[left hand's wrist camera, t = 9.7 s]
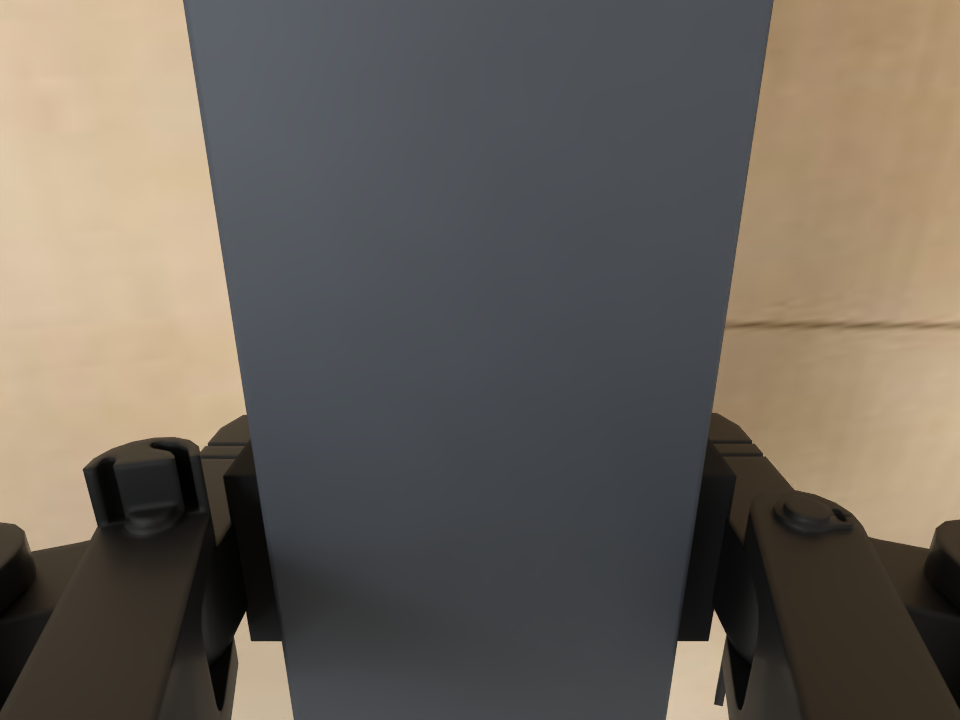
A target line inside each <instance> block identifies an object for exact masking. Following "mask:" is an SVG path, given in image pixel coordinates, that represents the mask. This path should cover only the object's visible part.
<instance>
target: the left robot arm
mask: <svg viewBox="0 0 960 720" xmlns="http://www.w3.org/2000/svg"><path fill="white" fill-rule="evenodd" d="M83 472H84V476H85V480H86V483H87V487H88V491H89V495H90V499H91V502H92V506H93V510H94V514H95V517H96V521H97V525H98V527H97V529H96V531H95V533H94V535H93V536H92V538H91V540H88V541H84V542H80V543H75V544H70V545H65V546H59V547H54V548H49V549H43V550H38V551H33V552H31V551H30V547H29V544H28V541H27V538H26V535H25V532H24V531H23V530H22V529H21V528H19V527H18V526H17V525H15V524H8V523H0V720H231V716H232V708H233V700H234V693H235V685H236V677H237V670H238V658H237V651H236V646H235V640H234V635H235V632H236V630H237V628H238V626H239V624H240V622H241V620H242V618H243V616H244V614H245V612H246V614H247V620H248V625H249V631H250V637H251V641H282V639H281V632H280V626H279V619H278V613H277V606H276V600H275V593H274V587H273V580H272V574H271V567H270V561H269V554H268V548H267V541H266V535H265V528H264V522H263V515H262V509H261V502H260V496H259V489H258V483H257V476H256V470H255V463H254V457H253V451H252V444H251V438H250V431H249V425H248V418H247V415H243V416H241V417H239V418H237V419H236V420H234V421H232V422H231V423H229V424H227V425H225V426H224V427H222V428H221V429H220V430H219V431H218V432H217V433H216V434H215V436H214V437H213V438H212V439H211V440H210V441H209V443H208V446H205V447H204V448H203V450H202V451H201V452H200V450H199V446H197V445H196V444H195V443H193V442H192V441H190V440H186V439H181V438H176V437H163V438H150V439H145V440H140V441H134V442H131V443H128V444H125V445H122V446H119V447H116V448H113V449H111V450H109V451H107V452H105V453H103V454H101V455H99V456H98V457H96V458H94V459H93V460H92V461H91V462H90V463H89V464H88V465H87V466H86V467H85V468H84V469H83ZM714 609H715V611H716V614H717V616H718V618H719V620H720V622H721V624H722V626H723V628H724V630H725V632H726V634H727V635H726V640H725V646H724V651H723V656H722V662H721V667H720V673H719V678H718V684H717V689H716V695H715V702H714V704H715V705H719V706H723V702H724V697H725V693H726V699H727V706H728V714H729V720H960V520H953V521H945V522H944V523H943V524H941V525H940V526H938V527H937V528H936V530H935V533H934V536H933V539H932V543H931V546H930V549H926V548H921V547H916V546H910V545H905V544H900V543H895V542H889V541H884V540H879V539H875V538H871V537H868V535H867V533H866V531H865V530H864V528H863V526H862V525H861V523H860V522H859V521H858V520H857V519H856V518H855V516H854V515H853V514H852V513H850V512H849V511H847V510H846V509H844V508H843V507H841V506H840V505H838V504H837V503H835V502H832V501H830V500H827V499H825V498H822V497H820V496H817V495H814V494H810V493H805V492H801V491H796V490H794V489H793V488H792V487H791V486H790V484H789V483H788V482H787V481H786V480H785V479H784V477H783V476H782V475H781V474H780V473H779V472H778V471H777V469H776V468H775V467H774V466H773V465H772V464H771V462H770V461H769V460H768V459H767V458H766V457H763V453H762V452H761V451H760V450H759V448H758V447H757V446H756V445H755V444H752V440H751V439H750V438H749V437H748V436H747V435H746V433H745V432H744V431H743V430H742V429H741V428H740V426H738V425H737V424H735V423H733V422H731V421H730V420H728V419H726V418H724V417H723V416H721V415H719V414H717V413H712V414H711V421H710V427H709V434H708V441H707V447H706V454H705V461H704V467H703V474H702V481H701V487H700V494H699V501H698V507H697V514H696V521H695V527H694V534H693V541H692V547H691V554H690V561H689V567H688V574H687V581H686V588H685V594H684V601H683V608H682V614H681V621H680V628H679V634H678V641H709V635H710V629H711V623H712V617H713V611H714Z"/></svg>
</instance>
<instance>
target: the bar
mask: <svg viewBox="0 0 960 720" xmlns="http://www.w3.org/2000/svg"><path fill="white" fill-rule="evenodd" d="M183 3H184V10H185V16H186V22H187V29H188V35H189V42H190V48H191V55H192V61H193V68H194V74H195V81H196V87H197V94H198V100H199V107H200V113H201V120H202V126H203V133H204V139H205V146H206V152H207V159H208V165H209V172H210V178H211V185H212V191H213V198H214V204H215V211H216V217H217V224H218V230H219V236H220V243H221V249H222V256H223V262H224V269H225V275H226V282H227V288H228V295H229V301H230V308H231V314H232V321H233V327H234V334H235V340H236V347H237V353H238V360H239V366H240V373H241V379H242V386H243V392H244V399H245V405H246V412H247V418H248V425H249V431H250V438H251V444H252V451H253V457H254V463H255V470H256V476H257V483H258V489H259V496H260V502H261V509H262V515H263V522H264V528H265V535H266V541H267V548H268V554H269V561H270V567H271V574H272V580H273V587H274V593H275V600H276V606H277V613H278V619H279V626H280V632H281V639H282V645H283V652H284V658H285V665H286V671H287V677H288V684H289V690H290V697H291V703H292V710H293V716H294V720H666V714H667V708H668V701H669V694H670V688H671V681H672V674H673V668H674V661H675V654H676V648H677V641H678V634H679V628H680V621H681V614H682V608H683V601H684V594H685V588H686V581H687V574H688V567H689V561H690V554H691V547H692V541H693V534H694V527H695V521H696V514H697V507H698V501H699V494H700V487H701V481H702V474H703V467H704V461H705V454H706V447H707V441H708V434H709V427H710V421H711V414H712V407H713V401H714V394H715V387H716V381H717V374H718V367H719V360H720V354H721V347H722V340H723V334H724V327H725V320H726V314H727V307H728V300H729V294H730V287H731V280H732V274H733V267H734V260H735V254H736V247H737V240H738V234H739V227H740V220H741V214H742V207H743V200H744V194H745V187H746V180H747V174H748V167H749V160H750V154H751V147H752V140H753V133H754V127H755V120H756V113H757V107H758V100H759V93H760V87H761V80H762V73H763V67H764V60H765V53H766V47H767V40H768V33H769V27H770V20H771V13H772V7H773V0H183Z"/></svg>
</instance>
